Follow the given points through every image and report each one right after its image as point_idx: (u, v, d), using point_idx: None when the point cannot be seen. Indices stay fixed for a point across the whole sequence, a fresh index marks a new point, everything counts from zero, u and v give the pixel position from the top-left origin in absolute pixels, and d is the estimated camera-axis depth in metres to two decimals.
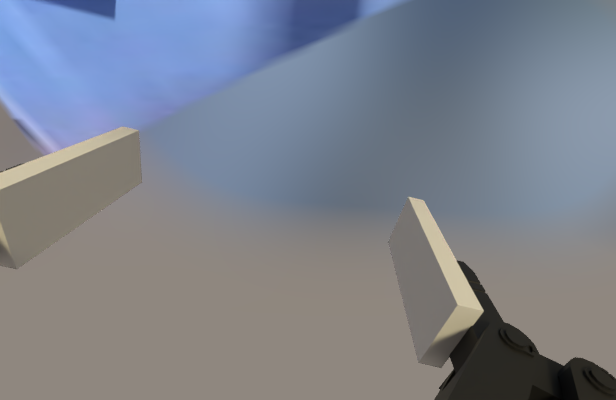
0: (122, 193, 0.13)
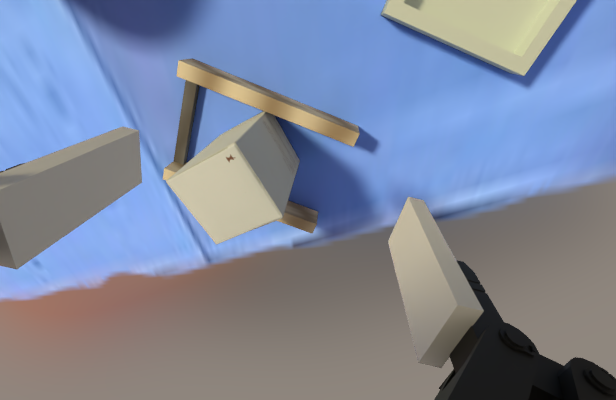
0: (122, 193, 0.13)
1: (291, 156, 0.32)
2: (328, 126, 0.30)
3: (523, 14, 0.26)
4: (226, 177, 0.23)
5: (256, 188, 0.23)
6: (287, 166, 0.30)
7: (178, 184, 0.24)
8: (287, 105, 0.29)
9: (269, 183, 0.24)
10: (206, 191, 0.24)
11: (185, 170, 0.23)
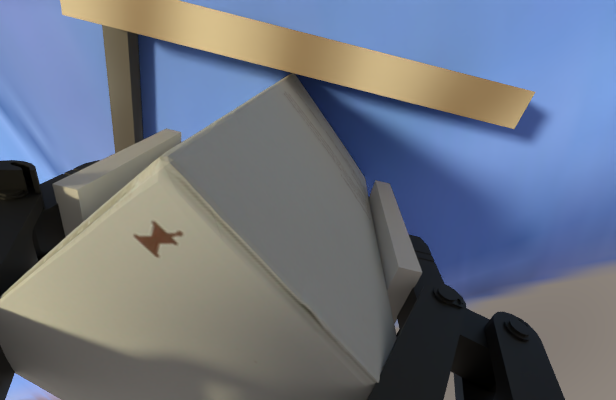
0: None
1: (354, 173, 0.14)
2: (450, 85, 0.12)
3: None
4: (164, 315, 0.05)
5: (300, 343, 0.05)
6: (358, 200, 0.12)
7: None
8: (341, 45, 0.11)
9: (343, 297, 0.06)
10: (102, 364, 0.06)
11: (2, 297, 0.06)
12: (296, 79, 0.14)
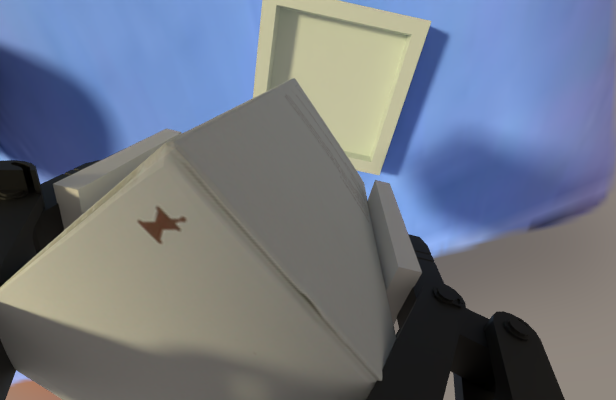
0: None
1: (353, 176, 0.14)
2: None
3: (367, 126, 0.30)
4: (165, 304, 0.05)
5: (299, 334, 0.05)
6: (356, 202, 0.12)
7: None
8: None
9: (342, 290, 0.06)
10: (100, 356, 0.06)
11: (2, 287, 0.06)
12: (297, 84, 0.14)
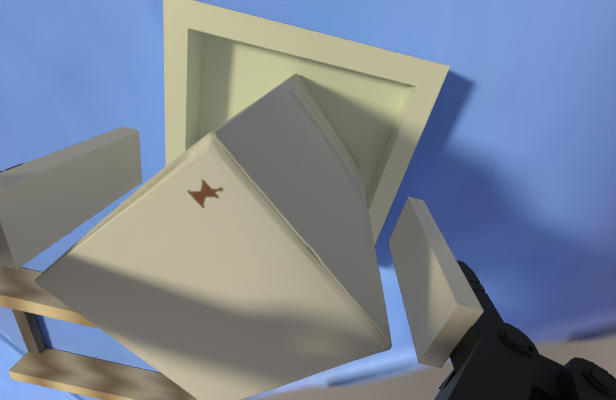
0: (122, 193, 0.13)
1: (350, 163, 0.16)
2: None
3: None
4: (204, 255, 0.07)
5: (305, 279, 0.07)
6: (353, 185, 0.14)
7: (68, 287, 0.08)
8: None
9: (338, 250, 0.08)
10: (151, 300, 0.08)
11: (76, 245, 0.07)
12: (299, 79, 0.16)
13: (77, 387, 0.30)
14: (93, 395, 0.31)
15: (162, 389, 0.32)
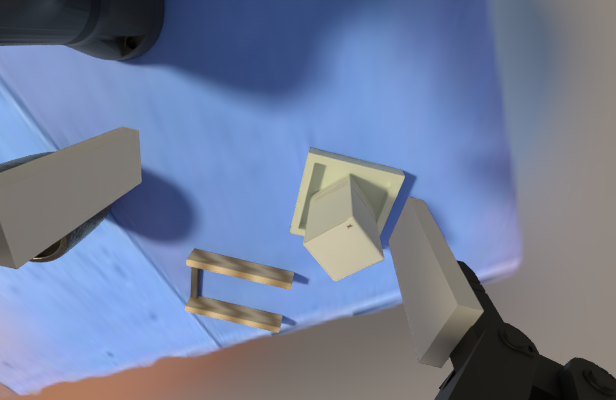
0: (122, 193, 0.13)
1: (370, 207, 0.43)
2: (273, 281, 0.52)
3: None
4: (346, 237, 0.34)
5: (366, 242, 0.34)
6: (372, 217, 0.41)
7: (311, 245, 0.35)
8: (248, 274, 0.52)
9: (372, 237, 0.35)
10: (331, 248, 0.35)
11: (317, 236, 0.34)
12: (351, 176, 0.43)
13: (220, 315, 0.57)
14: (228, 319, 0.58)
15: (263, 317, 0.59)
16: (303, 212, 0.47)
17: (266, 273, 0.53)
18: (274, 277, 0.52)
